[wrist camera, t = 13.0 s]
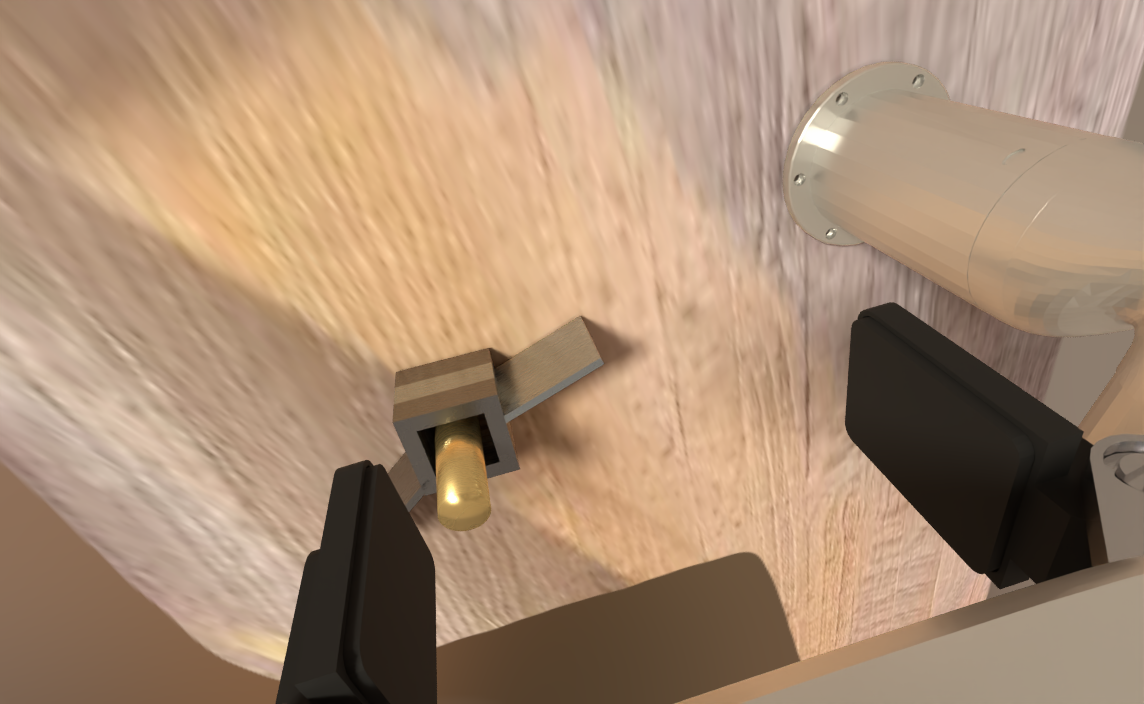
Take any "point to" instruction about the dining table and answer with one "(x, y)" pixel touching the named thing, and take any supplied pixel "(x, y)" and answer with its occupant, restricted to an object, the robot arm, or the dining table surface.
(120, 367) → the dining table surface
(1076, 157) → the robot arm
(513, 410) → the grey winged square socket
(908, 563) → the dining table surface
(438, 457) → the pin
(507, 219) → the dining table surface
